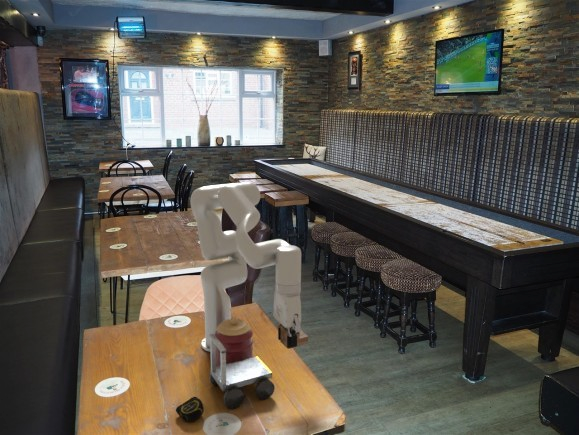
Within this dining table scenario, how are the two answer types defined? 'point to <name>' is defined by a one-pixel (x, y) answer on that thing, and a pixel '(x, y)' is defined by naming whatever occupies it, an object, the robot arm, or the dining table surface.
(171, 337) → the dining table surface
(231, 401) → the trolley
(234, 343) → the canister
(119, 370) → the dining table surface
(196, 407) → the tape measure
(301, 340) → the block
